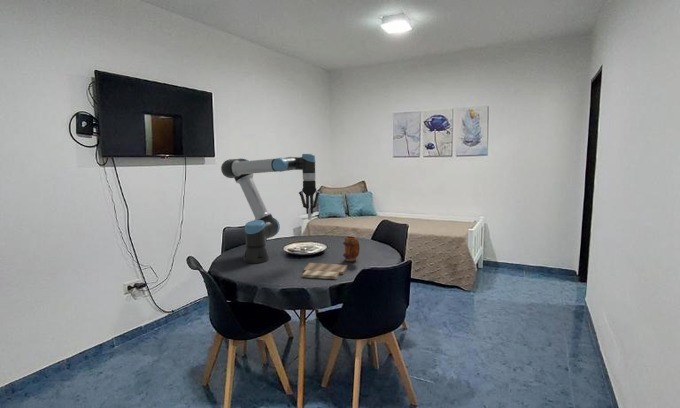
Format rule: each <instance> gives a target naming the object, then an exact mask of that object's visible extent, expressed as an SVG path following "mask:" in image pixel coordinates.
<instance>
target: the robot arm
mask: <svg viewBox="0 0 680 408" xmlns="http://www.w3.org/2000/svg"><path fill="white" fill-rule="evenodd" d="M220 170H221V173H222V175H223V176H225V178H227V179H234V182H235V183H236V184H238V185H239V186H240V187H241V189H242V192H243V194H244V197H245V199H246V201H247V203H248V206H249V207H250V209H251V212H252V214H253V216H254V218H255V219H254V220H250V221H247V222H246V223H245V225H244V233H245V234H244V236H245V237H244V238H245V249H244V253H243V256H242V257H243V262H244V263H245V264H246V263H247V264H261V263H265V262H268V261H269V260H270V255H269V252H268V248H267V246H266V240H269V239H270V238H273V237H275V236H276V235H277V234H279V232H280V228H281V226H280V221H279V220H278V219H277V218H276V217H273V215H272V213H270V212H268V210H267V207H266V205H265V203H264V201H263V199H262V197H261V194H260V193H259V190H258V188H257V186H256V183H255V181H254V179H253V178H254V174H263V173H273V172H274V173H275V172H276V173H278V172H287V171H297V170H298V171H302V190H300V191H299V192H298V195H299V196H300V201H301V203H302V208H305V209H306V215H307V220H308V221H310V220H312V219H313V218H312V217H313V214H314V209H315V208H316V207H317V204H318V200H319V196H320V194H321V191H318V190H317V188H316V157H315V154H314V153H302V155H301V156H295V157H294V156H288V157H277V158H266V159H255V160H248V159H247V158H233V159H232V158H231V159H226V160H224V161H223V163H222V164H221V167H220ZM314 195H315V197H314Z"/></svg>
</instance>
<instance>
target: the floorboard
mask: <svg viewBox="0 0 680 408" xmlns="http://www.w3.org/2000/svg"><path fill="white" fill-rule="evenodd" d="M347 269H348V264H336V263H318V262H317V263H316V262H309V263H308V264H307V265H305V267H304V269H303V273H304V272H305V271H306V270H313V271H330V272H339V274H343V275H344V274H345V272H346V270H347Z"/></svg>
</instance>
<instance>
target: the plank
mask: <svg viewBox="0 0 680 408" xmlns="http://www.w3.org/2000/svg"><path fill="white" fill-rule="evenodd" d="M339 276H340V275H339V272H330V271H313V270H306V271H305V272H303V273H302V278H309V279H310V278H311V279H325V280H326V279H327V280H328V279H329V280H337V279H338V278H339Z"/></svg>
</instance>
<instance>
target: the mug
mask: <svg viewBox="0 0 680 408" xmlns="http://www.w3.org/2000/svg"><path fill="white" fill-rule="evenodd" d="M342 243H343V245H344V253H343V254H342V256H343V257H344V260H345V261H346V262H355V261H356V260H357V258H358V256H359V254H360V242H359V240H358V238H356V237H355V236H352V235H349V236H345V237H344V242H342Z"/></svg>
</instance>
